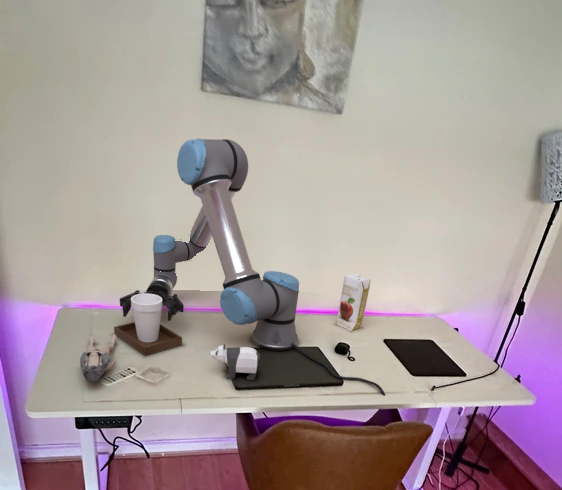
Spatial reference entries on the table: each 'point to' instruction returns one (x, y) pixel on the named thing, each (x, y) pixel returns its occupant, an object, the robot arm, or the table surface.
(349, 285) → the juice carton
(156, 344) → the tray
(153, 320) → the foam cup
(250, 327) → the table surface
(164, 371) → the table surface
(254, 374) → the giant panda
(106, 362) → the anime figure
